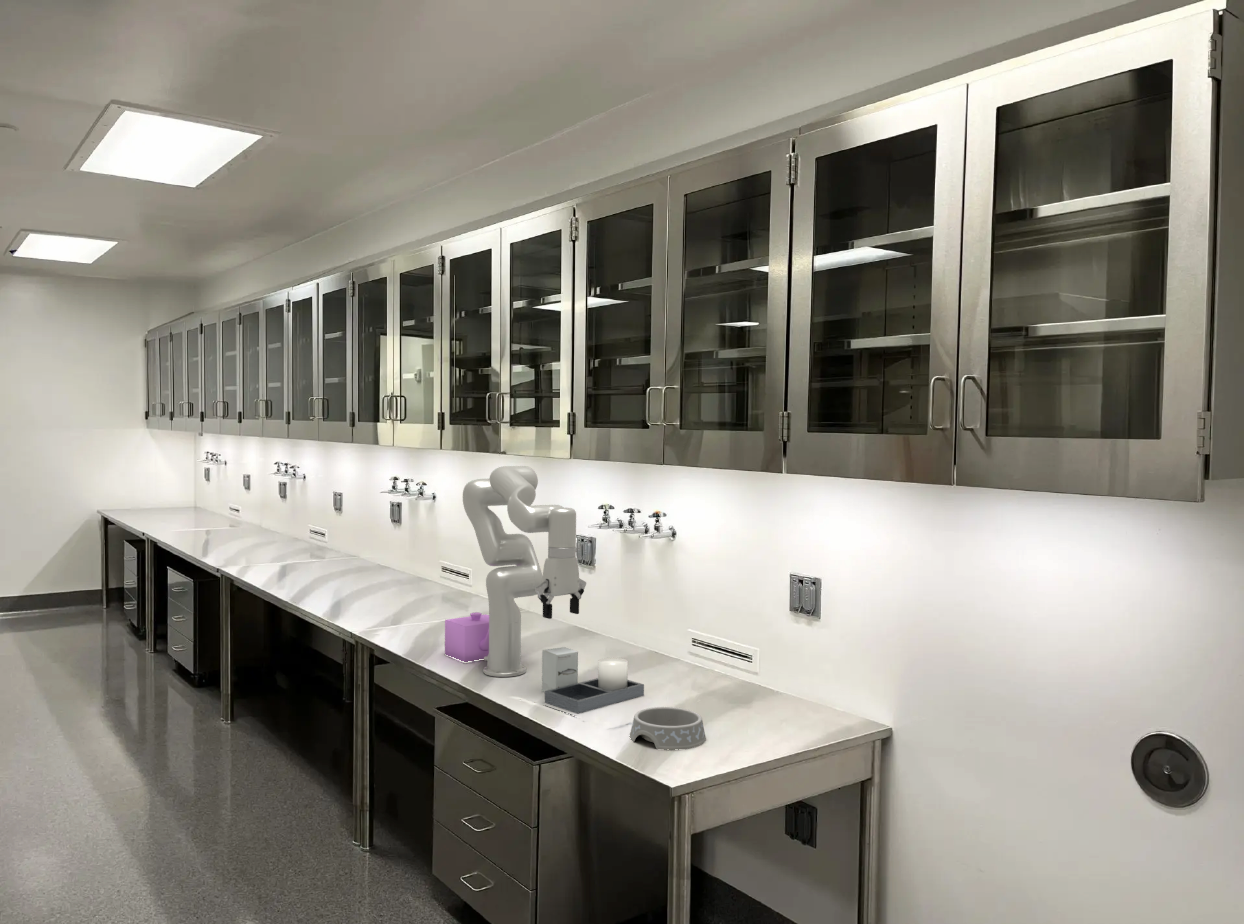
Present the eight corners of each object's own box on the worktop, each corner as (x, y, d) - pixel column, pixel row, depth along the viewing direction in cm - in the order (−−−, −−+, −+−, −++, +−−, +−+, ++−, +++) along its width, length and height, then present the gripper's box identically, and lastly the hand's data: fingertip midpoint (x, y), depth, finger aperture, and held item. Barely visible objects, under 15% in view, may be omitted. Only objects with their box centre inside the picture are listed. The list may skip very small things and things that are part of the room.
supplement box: (555, 701, 243) (555, 654, 242) (541, 695, 249) (541, 649, 248) (578, 697, 247) (578, 651, 247) (563, 690, 253) (564, 645, 253)
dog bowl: (660, 721, 228) (660, 700, 228) (720, 738, 216) (720, 716, 216) (615, 738, 215) (615, 715, 215) (676, 757, 203) (676, 733, 203)
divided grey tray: (544, 706, 238) (544, 691, 238) (610, 689, 255) (610, 674, 255) (577, 717, 229) (577, 701, 229) (643, 699, 246) (644, 684, 246)
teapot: (476, 668, 276) (476, 623, 276) (437, 652, 296) (437, 610, 295) (518, 661, 286) (519, 617, 285) (478, 646, 305) (478, 605, 305)
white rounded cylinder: (591, 693, 247) (592, 661, 247) (613, 688, 252) (613, 656, 252) (612, 700, 241) (612, 666, 241) (633, 694, 247) (633, 661, 246)
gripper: (576, 549, 255) (575, 609, 256) (528, 554, 243) (527, 617, 244) (594, 552, 250) (593, 613, 251) (546, 557, 238) (545, 622, 239)
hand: (561, 615), depth 247 cm, fingers open, 9 cm apart
